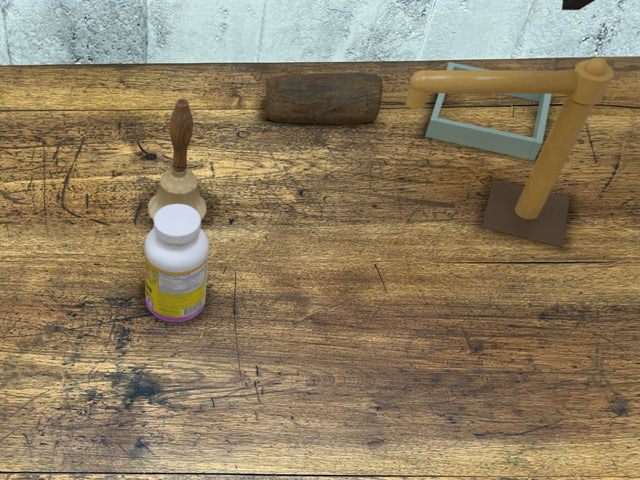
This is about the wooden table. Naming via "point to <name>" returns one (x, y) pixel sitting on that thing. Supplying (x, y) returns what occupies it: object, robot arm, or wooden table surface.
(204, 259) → the supplement bottle
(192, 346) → the wooden table surface
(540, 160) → the tap mount
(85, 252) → the wooden table surface
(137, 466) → the wooden table surface
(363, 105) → the dark brown wooden log
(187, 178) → the hand bell
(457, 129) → the grey-green rectangular frame
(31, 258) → the wooden table surface
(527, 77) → the spout
